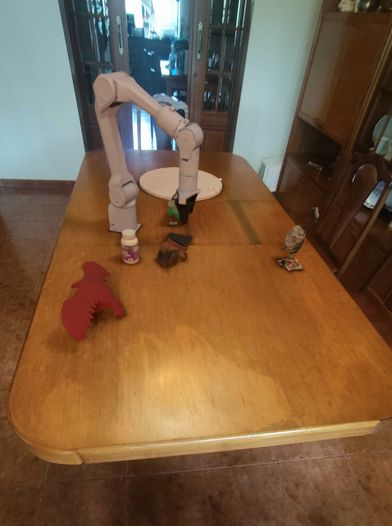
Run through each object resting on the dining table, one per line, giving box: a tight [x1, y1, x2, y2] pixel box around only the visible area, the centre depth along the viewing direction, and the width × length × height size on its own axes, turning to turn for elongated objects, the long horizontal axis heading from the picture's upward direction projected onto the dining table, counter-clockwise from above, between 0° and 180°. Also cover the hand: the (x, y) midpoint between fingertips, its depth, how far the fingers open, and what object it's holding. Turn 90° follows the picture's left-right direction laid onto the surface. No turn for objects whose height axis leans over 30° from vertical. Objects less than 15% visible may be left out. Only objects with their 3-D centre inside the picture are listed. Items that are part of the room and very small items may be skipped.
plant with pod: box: [276, 206, 320, 272], centre depth 101 cm, size 8×11×20 cm
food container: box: [167, 189, 185, 227], centre depth 121 cm, size 12×6×10 cm, turn 168°
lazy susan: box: [138, 166, 223, 202], centre depth 150 cm, size 40×39×3 cm
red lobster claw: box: [60, 260, 126, 343], centre depth 81 cm, size 28×9×15 cm
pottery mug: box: [156, 237, 188, 268], centre depth 102 cm, size 12×10×8 cm
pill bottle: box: [120, 229, 140, 265], centre depth 100 cm, size 5×5×10 cm
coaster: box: [164, 232, 192, 247], centre depth 114 cm, size 8×8×1 cm
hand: (186, 217), depth 105 cm, fingers open, 7 cm apart
